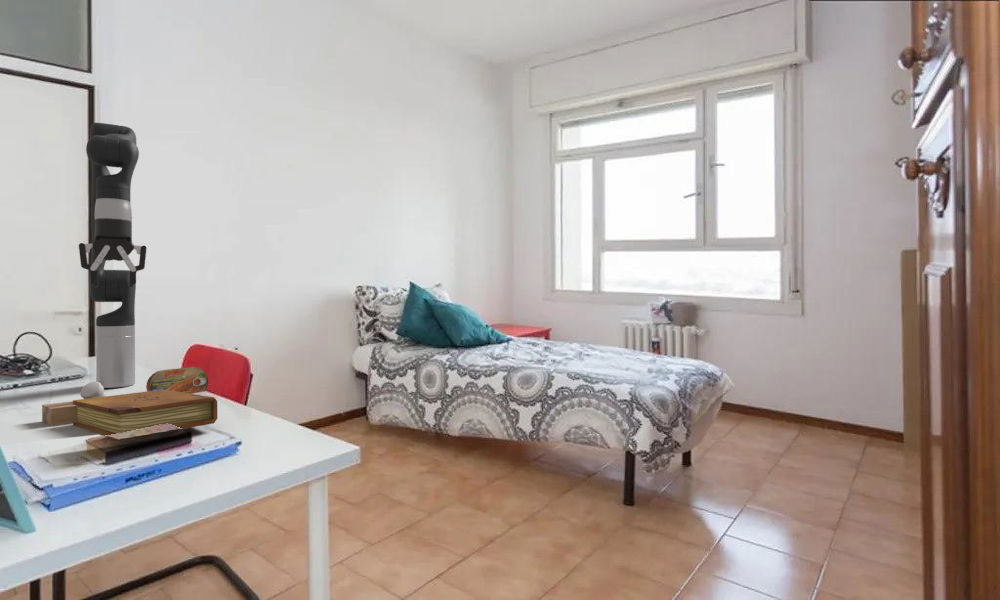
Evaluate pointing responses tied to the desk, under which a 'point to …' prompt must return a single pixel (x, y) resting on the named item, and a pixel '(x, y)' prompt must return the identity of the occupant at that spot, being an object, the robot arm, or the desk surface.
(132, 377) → the robot arm
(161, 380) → the tin
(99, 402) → the diary
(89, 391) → the rook chess piece
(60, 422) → the walnut block
